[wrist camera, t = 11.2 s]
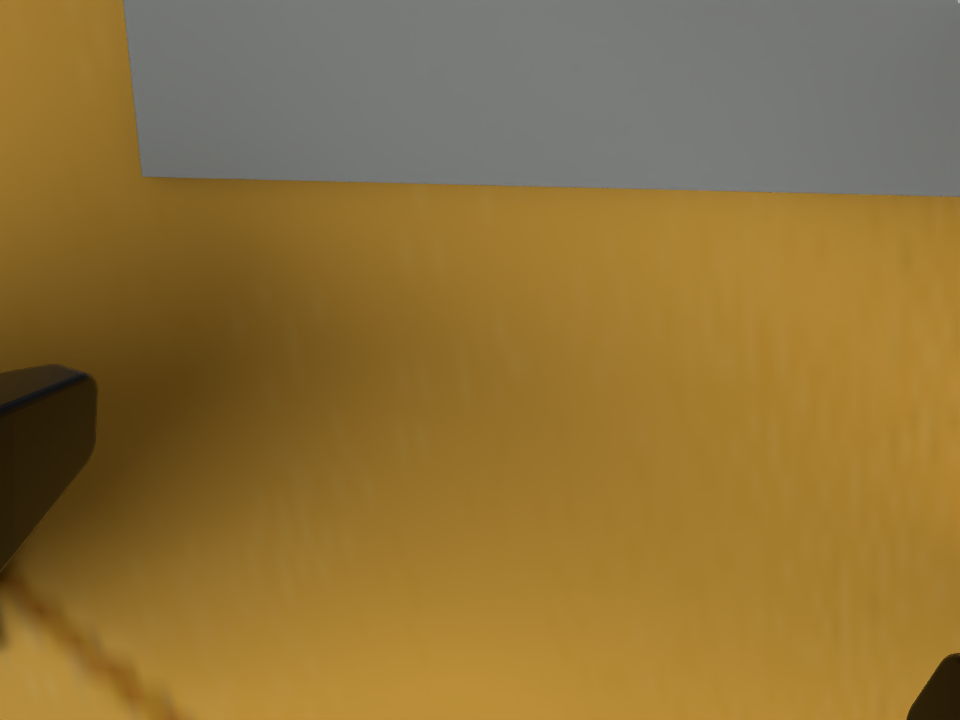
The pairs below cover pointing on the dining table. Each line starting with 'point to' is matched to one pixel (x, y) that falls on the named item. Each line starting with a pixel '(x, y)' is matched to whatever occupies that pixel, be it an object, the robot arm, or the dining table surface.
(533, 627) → the dining table surface
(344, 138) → the mat
